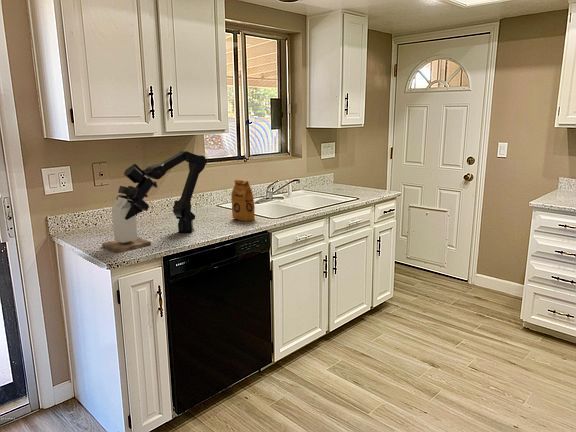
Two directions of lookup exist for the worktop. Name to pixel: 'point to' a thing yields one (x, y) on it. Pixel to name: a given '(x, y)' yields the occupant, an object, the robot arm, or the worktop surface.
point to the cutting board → (126, 245)
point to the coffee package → (242, 201)
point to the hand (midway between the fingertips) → (121, 218)
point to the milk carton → (123, 222)
